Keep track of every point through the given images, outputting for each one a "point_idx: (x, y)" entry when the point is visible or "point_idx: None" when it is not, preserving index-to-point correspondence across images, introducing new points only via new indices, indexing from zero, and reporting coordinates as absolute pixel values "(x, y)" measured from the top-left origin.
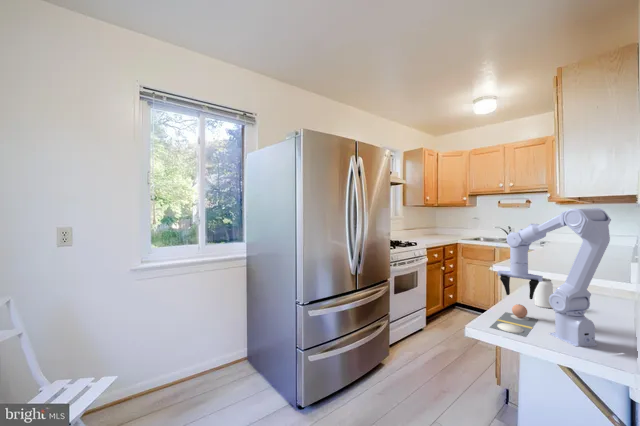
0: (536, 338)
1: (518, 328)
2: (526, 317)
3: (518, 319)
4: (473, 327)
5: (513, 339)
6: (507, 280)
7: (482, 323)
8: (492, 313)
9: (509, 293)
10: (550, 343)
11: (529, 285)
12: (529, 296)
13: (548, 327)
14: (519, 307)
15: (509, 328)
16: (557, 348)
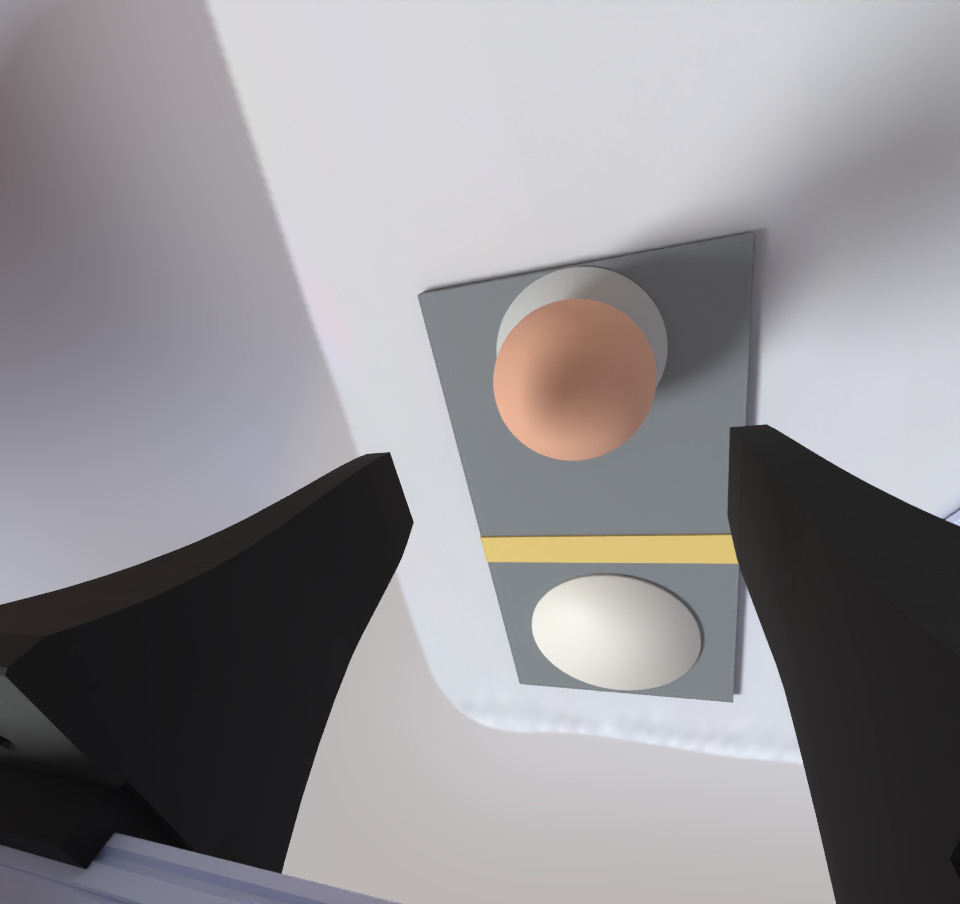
0: None
1: (660, 621)
2: (632, 305)
3: None
4: (461, 701)
5: (676, 734)
6: (264, 785)
7: (455, 632)
8: (369, 405)
9: (387, 466)
10: None
11: (832, 884)
12: (737, 557)
13: (871, 394)
14: (583, 453)
15: (614, 651)
16: None
